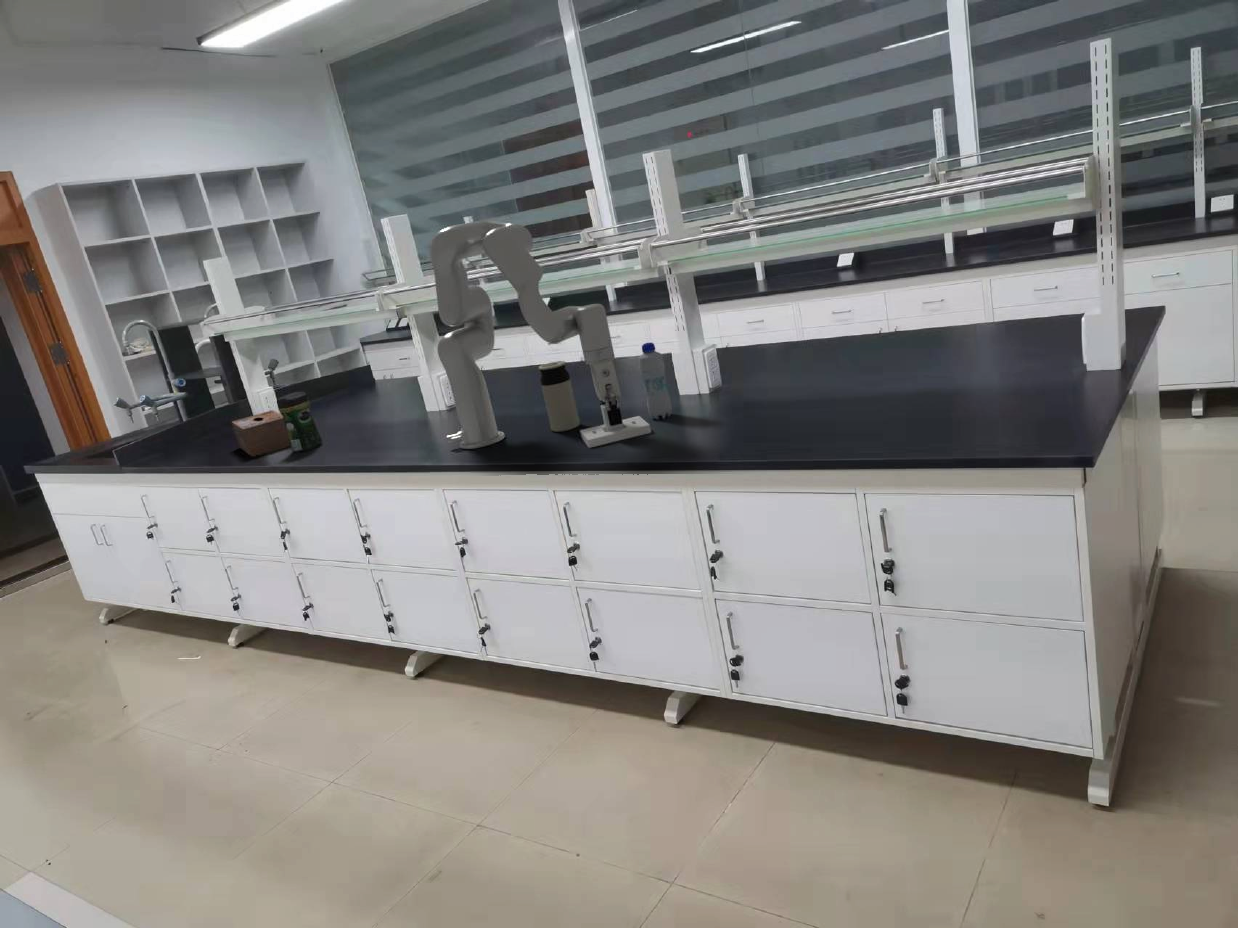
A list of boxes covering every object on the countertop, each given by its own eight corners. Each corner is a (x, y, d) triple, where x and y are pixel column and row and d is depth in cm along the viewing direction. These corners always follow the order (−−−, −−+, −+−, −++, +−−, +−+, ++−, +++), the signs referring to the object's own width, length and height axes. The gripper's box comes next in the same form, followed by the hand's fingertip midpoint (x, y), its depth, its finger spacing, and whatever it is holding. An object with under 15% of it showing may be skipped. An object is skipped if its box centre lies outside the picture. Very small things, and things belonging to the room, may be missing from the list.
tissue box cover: (240, 448, 315) (231, 421, 312) (280, 436, 322) (272, 410, 319) (252, 457, 293) (243, 429, 290) (295, 444, 300) (287, 416, 297)
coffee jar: (311, 443, 295) (294, 390, 290) (326, 443, 290) (310, 388, 285) (287, 453, 287) (270, 398, 282) (303, 452, 283) (285, 397, 278)
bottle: (656, 413, 237) (642, 341, 231) (678, 412, 233) (664, 338, 228) (644, 421, 232) (629, 347, 226) (666, 420, 228) (652, 344, 222)
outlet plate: (589, 447, 217) (587, 439, 216) (581, 437, 228) (579, 429, 228) (651, 432, 219) (649, 424, 219) (640, 423, 231) (639, 415, 230)
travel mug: (553, 434, 238) (539, 369, 233) (550, 428, 246) (535, 365, 241) (582, 427, 239) (568, 363, 234) (577, 421, 247) (564, 359, 242)
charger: (609, 438, 222) (603, 407, 219) (606, 435, 226) (600, 405, 223) (624, 435, 222) (618, 404, 220) (621, 431, 226) (615, 401, 224)
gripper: (620, 355, 210) (634, 424, 215) (607, 347, 227) (620, 411, 232) (590, 363, 209) (604, 431, 214) (578, 354, 226) (592, 417, 231)
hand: (612, 420), depth 223 cm, fingers open, 9 cm apart
